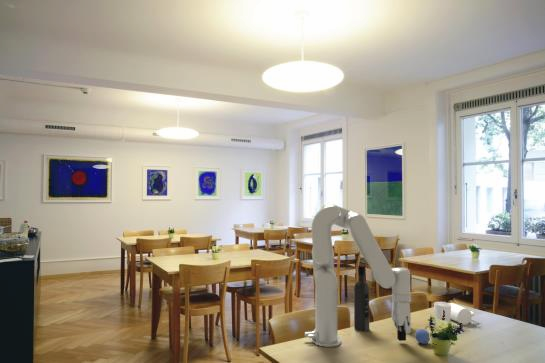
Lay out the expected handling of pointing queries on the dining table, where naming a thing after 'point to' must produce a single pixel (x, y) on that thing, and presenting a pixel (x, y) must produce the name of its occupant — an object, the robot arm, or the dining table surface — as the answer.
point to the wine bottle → (361, 302)
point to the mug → (461, 314)
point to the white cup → (439, 310)
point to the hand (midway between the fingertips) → (401, 339)
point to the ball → (422, 336)
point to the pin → (409, 329)
